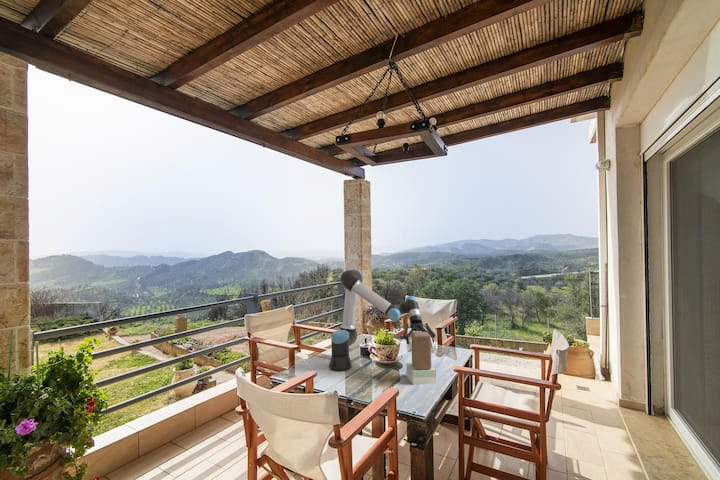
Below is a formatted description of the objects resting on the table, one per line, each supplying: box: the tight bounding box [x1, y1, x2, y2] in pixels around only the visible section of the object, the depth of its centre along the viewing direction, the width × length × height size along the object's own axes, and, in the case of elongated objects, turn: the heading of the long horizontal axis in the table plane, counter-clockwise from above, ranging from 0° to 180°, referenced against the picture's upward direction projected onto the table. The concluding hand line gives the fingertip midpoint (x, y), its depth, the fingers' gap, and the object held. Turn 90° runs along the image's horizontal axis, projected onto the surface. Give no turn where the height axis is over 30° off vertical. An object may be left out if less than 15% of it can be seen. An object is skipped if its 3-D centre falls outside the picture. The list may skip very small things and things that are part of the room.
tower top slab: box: [406, 362, 437, 378], centre depth 196 cm, size 14×14×4 cm
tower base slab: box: [405, 369, 437, 385], centre depth 196 cm, size 14×14×4 cm
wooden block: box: [410, 331, 432, 370], centre depth 196 cm, size 10×10×20 cm
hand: (421, 348), depth 194 cm, fingers open, 13 cm apart
